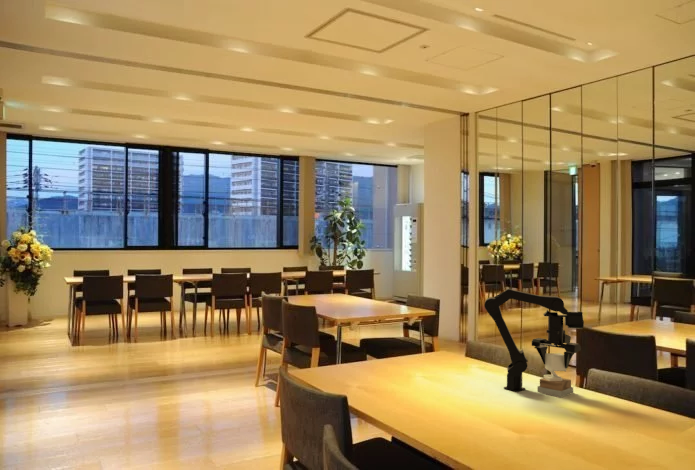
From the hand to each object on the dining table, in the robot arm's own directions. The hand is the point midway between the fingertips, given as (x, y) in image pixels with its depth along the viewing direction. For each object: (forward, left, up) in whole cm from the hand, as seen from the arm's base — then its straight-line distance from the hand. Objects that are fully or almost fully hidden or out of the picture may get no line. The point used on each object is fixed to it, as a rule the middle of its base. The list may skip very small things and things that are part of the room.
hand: (555, 366), depth 230 cm
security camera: (0, 0, -5) cm, 5 cm away
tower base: (0, 0, -11) cm, 11 cm away
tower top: (0, 0, -8) cm, 8 cm away
